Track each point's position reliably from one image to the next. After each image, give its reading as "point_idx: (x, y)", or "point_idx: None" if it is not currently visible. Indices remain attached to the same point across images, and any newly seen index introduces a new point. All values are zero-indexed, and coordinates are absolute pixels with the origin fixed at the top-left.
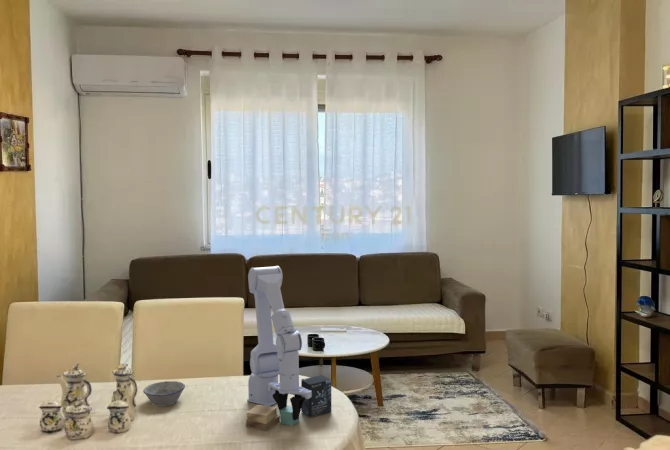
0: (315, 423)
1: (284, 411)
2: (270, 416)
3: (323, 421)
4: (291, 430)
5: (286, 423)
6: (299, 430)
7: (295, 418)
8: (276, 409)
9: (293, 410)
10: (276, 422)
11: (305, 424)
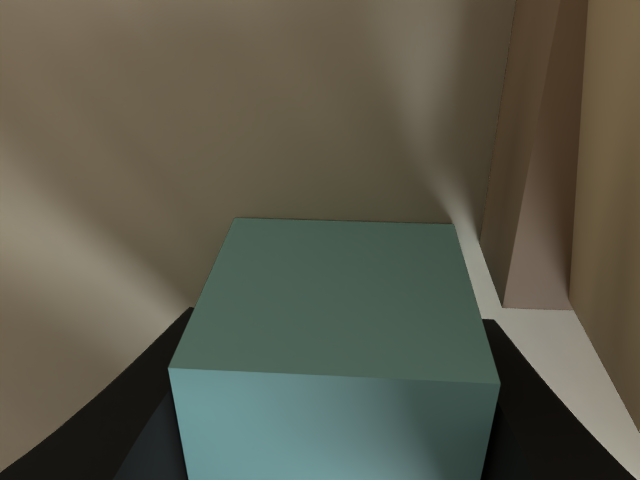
0: (37, 399)
1: (369, 369)
2: (629, 45)
3: (11, 463)
4: (121, 82)
5: (329, 229)
6: (23, 145)
7: (170, 330)
8: (619, 384)
9: (116, 429)
10: (499, 171)
11: (110, 335)
